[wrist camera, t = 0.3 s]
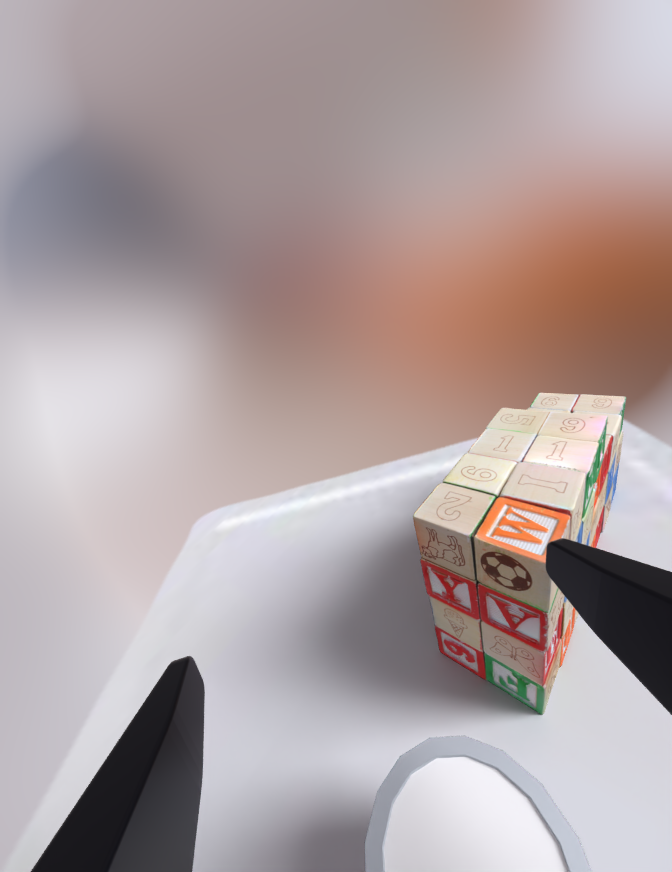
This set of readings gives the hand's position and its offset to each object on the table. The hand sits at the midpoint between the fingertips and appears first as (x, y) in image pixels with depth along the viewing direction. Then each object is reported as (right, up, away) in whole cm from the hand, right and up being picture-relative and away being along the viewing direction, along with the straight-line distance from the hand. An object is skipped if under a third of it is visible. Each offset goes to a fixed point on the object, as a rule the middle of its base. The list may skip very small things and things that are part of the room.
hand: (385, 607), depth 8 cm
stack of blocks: (+15, -6, +19) cm, 24 cm away
